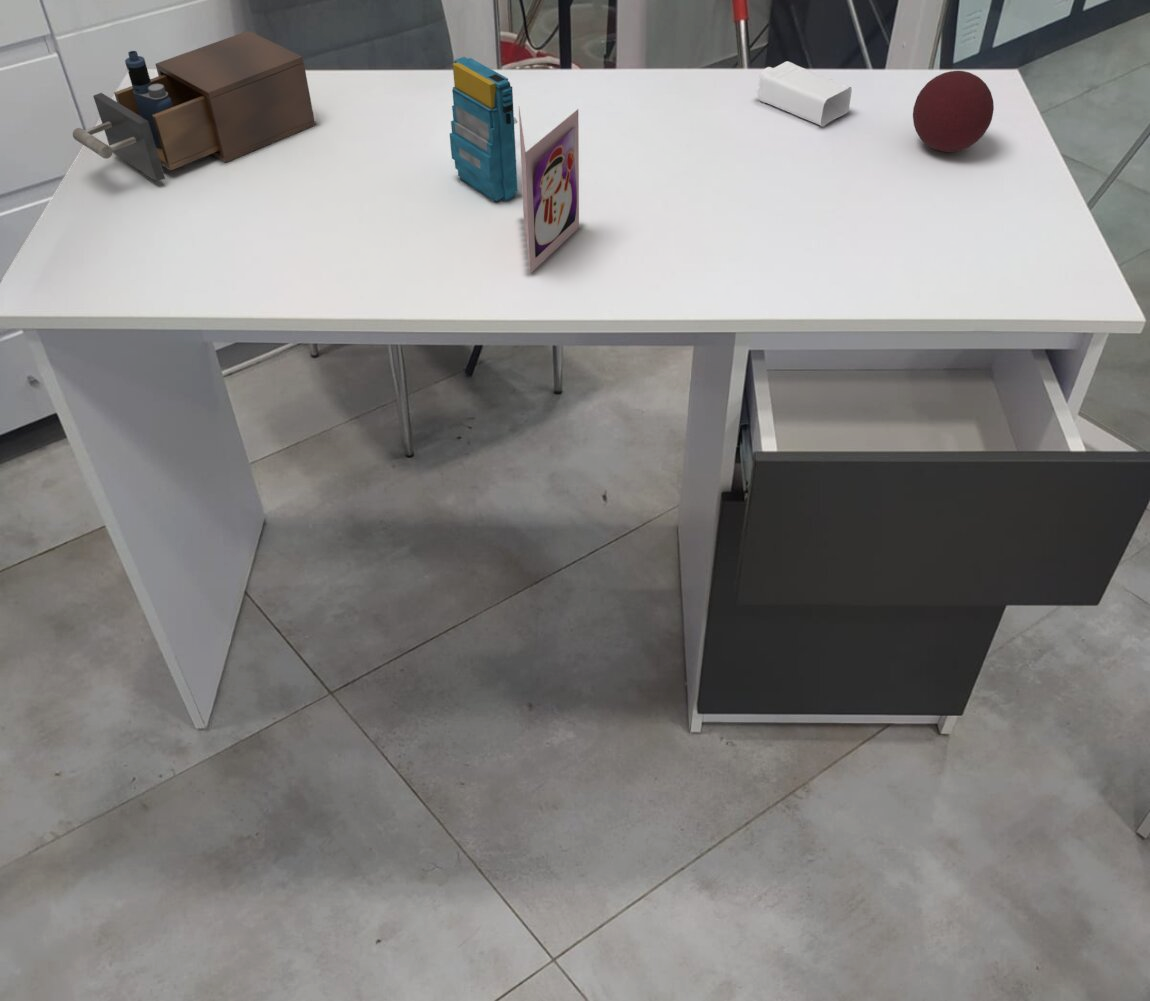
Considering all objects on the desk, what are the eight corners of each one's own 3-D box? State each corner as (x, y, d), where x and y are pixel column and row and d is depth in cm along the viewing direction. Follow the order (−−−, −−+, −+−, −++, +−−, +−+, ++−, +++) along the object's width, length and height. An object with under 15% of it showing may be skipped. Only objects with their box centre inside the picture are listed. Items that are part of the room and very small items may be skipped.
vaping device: (159, 136, 148) (133, 46, 140) (187, 145, 146) (163, 55, 138) (144, 144, 146) (117, 54, 138) (173, 154, 144) (147, 63, 136)
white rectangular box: (776, 84, 162) (780, 55, 159) (848, 113, 155) (853, 84, 152) (747, 98, 159) (750, 69, 156) (819, 128, 152) (824, 99, 149)
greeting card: (537, 275, 128) (532, 154, 117) (482, 258, 130) (473, 138, 120) (585, 228, 135) (585, 110, 124) (532, 213, 137) (528, 96, 127)
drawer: (121, 196, 139) (102, 138, 134) (76, 165, 145) (56, 108, 139) (246, 144, 148) (233, 88, 143) (199, 117, 154) (184, 62, 149)
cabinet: (225, 163, 147) (208, 92, 140) (174, 132, 153) (154, 63, 146) (315, 125, 154) (302, 56, 147) (262, 97, 160) (248, 30, 154)
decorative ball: (994, 143, 149) (1014, 70, 142) (964, 173, 143) (984, 99, 136) (924, 123, 153) (941, 51, 146) (893, 151, 148) (908, 78, 141)
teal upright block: (521, 196, 140) (516, 80, 130) (495, 207, 138) (487, 91, 128) (476, 167, 145) (467, 54, 135) (450, 177, 144) (439, 63, 133)
